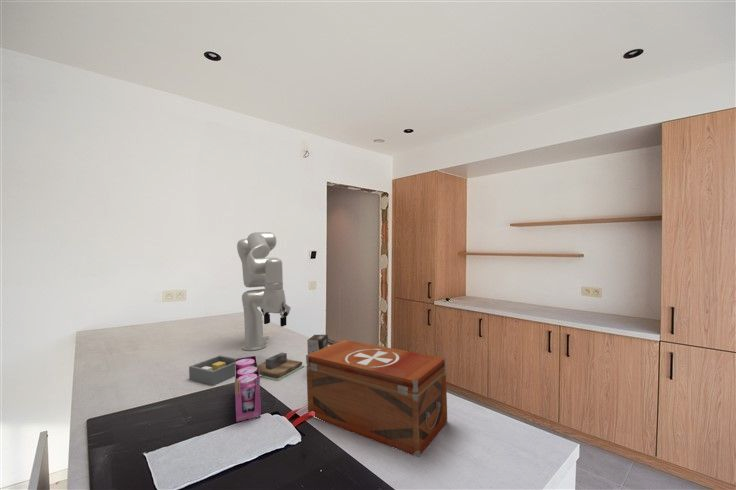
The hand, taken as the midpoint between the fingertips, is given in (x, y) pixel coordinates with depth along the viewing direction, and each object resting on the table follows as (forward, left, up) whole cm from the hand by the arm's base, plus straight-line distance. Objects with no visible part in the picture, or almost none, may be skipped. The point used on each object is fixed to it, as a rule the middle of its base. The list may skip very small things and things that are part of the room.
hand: (275, 324), depth 151 cm
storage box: (+17, -18, -21) cm, 32 cm away
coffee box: (-4, +20, -21) cm, 29 cm away
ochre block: (+14, -20, -20) cm, 31 cm away
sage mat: (0, 0, -21) cm, 21 cm away
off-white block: (+21, -21, -20) cm, 35 cm away
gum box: (+29, +13, -21) cm, 38 cm away
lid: (0, 0, -20) cm, 20 cm away
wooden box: (+18, +59, -21) cm, 65 cm away
